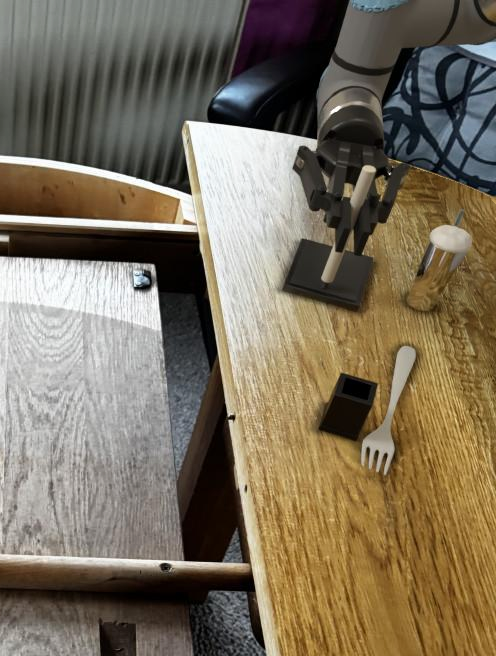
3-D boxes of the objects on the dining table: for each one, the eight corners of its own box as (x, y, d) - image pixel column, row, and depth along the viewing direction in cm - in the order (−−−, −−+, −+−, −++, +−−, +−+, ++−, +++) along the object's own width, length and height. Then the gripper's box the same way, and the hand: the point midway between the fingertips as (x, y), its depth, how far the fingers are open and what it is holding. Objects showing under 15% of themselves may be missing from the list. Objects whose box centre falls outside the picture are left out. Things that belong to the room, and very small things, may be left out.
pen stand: (362, 417, 96) (379, 382, 93) (356, 441, 94) (373, 406, 91) (324, 406, 97) (340, 371, 93) (318, 429, 95) (333, 394, 91)
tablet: (371, 263, 114) (374, 256, 113) (357, 311, 107) (360, 305, 107) (299, 243, 115) (302, 236, 114) (281, 290, 109) (284, 283, 108)
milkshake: (443, 295, 111) (483, 215, 103) (435, 319, 108) (476, 238, 100) (405, 283, 112) (442, 203, 103) (397, 307, 109) (434, 226, 101)
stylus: (331, 285, 109) (377, 167, 97) (329, 292, 108) (375, 173, 96) (319, 282, 109) (364, 163, 98) (317, 288, 108) (362, 169, 97)
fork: (423, 351, 104) (429, 338, 102) (383, 488, 90) (390, 475, 89) (394, 342, 104) (401, 329, 103) (350, 477, 91) (357, 464, 90)
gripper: (397, 178, 114) (406, 286, 100) (281, 158, 115) (274, 262, 101) (422, 114, 108) (436, 220, 94) (300, 94, 109) (296, 196, 95)
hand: (352, 242), depth 98 cm, fingers closed on stylus
